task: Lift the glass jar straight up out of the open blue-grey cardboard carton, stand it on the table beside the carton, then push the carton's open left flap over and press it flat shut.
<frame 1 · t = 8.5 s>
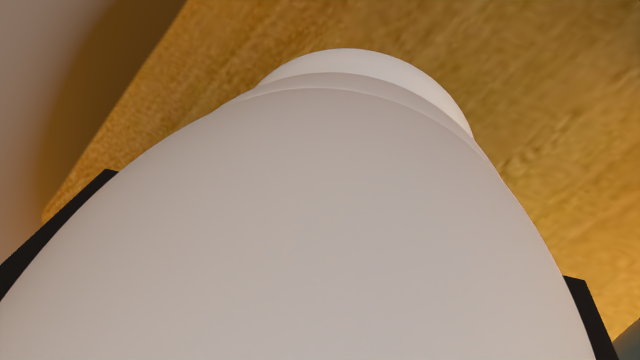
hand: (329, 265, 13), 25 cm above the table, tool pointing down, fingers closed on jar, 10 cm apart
jar: (352, 165, 18), point 19 cm above the table, touching gripper
when the fingers open (5 cm above the table, at t = 13.3 s): jar stays where it is, on the table.
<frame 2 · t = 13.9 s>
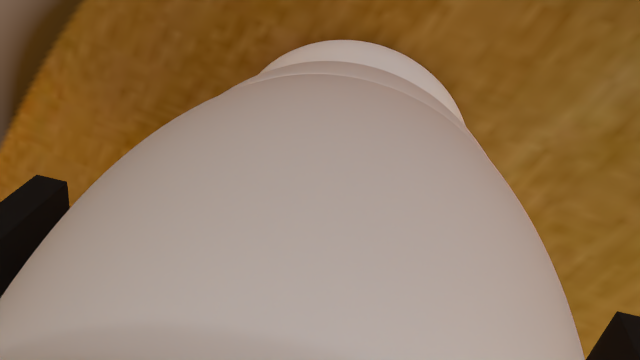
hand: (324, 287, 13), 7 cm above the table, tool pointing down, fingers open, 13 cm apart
jar: (348, 153, 19), on the table
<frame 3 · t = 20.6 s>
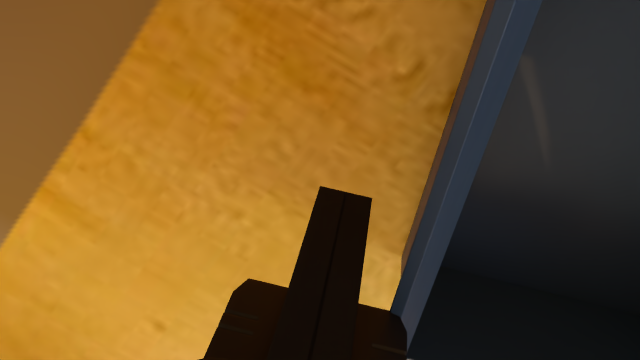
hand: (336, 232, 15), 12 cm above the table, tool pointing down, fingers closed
carton: (611, 146, 24), on the table
flap: (433, 251, 14), point 11 cm above the table, hinge at 107.1°, touching gripper
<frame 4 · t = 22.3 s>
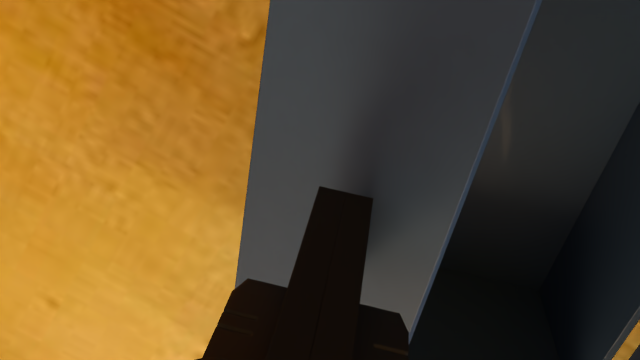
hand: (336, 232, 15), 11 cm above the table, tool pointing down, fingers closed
carton: (456, 110, 24), on the table
flap: (333, 203, 15), point 10 cm above the table, hinge at 35.2°, touching gripper
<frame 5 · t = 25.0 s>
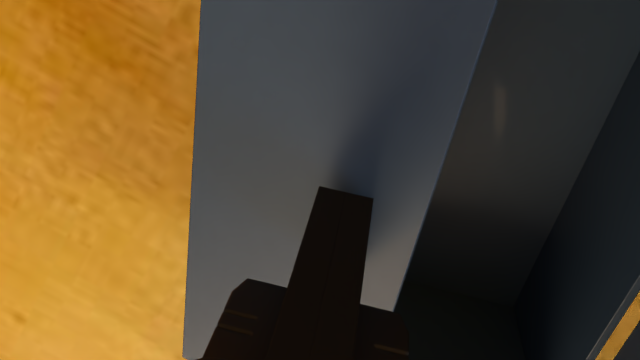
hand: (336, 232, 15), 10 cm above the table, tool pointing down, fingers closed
carton: (420, 120, 23), on the table
flap: (296, 206, 16), point 9 cm above the table, hinge at 15.3°, touching gripper
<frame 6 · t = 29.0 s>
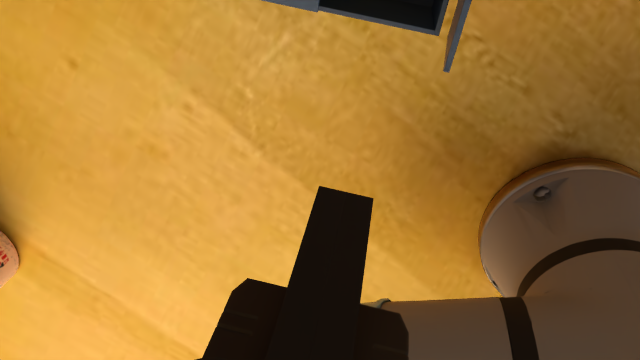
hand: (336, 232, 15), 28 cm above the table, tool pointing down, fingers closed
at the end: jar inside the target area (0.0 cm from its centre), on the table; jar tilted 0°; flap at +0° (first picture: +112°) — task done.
